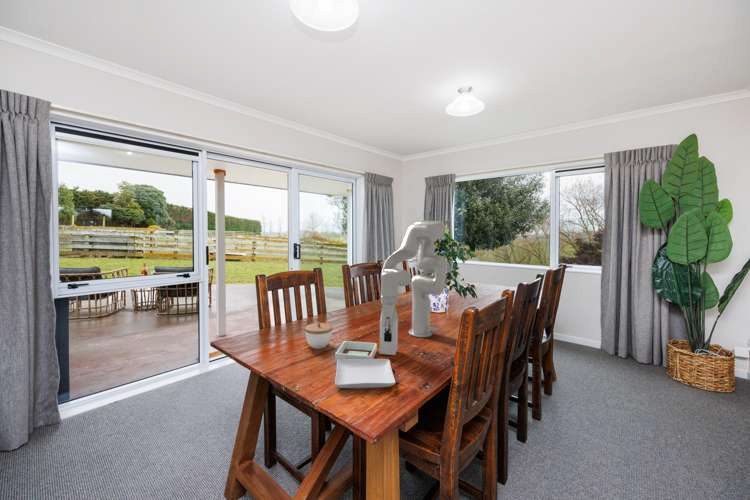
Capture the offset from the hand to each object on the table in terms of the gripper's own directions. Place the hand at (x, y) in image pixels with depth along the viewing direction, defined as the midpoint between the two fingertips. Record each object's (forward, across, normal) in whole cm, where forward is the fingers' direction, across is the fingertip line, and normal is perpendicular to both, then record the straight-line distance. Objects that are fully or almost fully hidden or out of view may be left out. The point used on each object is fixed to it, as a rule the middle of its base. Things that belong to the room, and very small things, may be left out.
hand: (388, 337), depth 144 cm
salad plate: (+7, +26, -6) cm, 27 cm away
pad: (+7, +7, -13) cm, 16 cm away
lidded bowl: (+7, -1, -33) cm, 34 cm away
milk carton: (+6, 0, 0) cm, 6 cm away
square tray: (+7, +7, -13) cm, 16 cm away
